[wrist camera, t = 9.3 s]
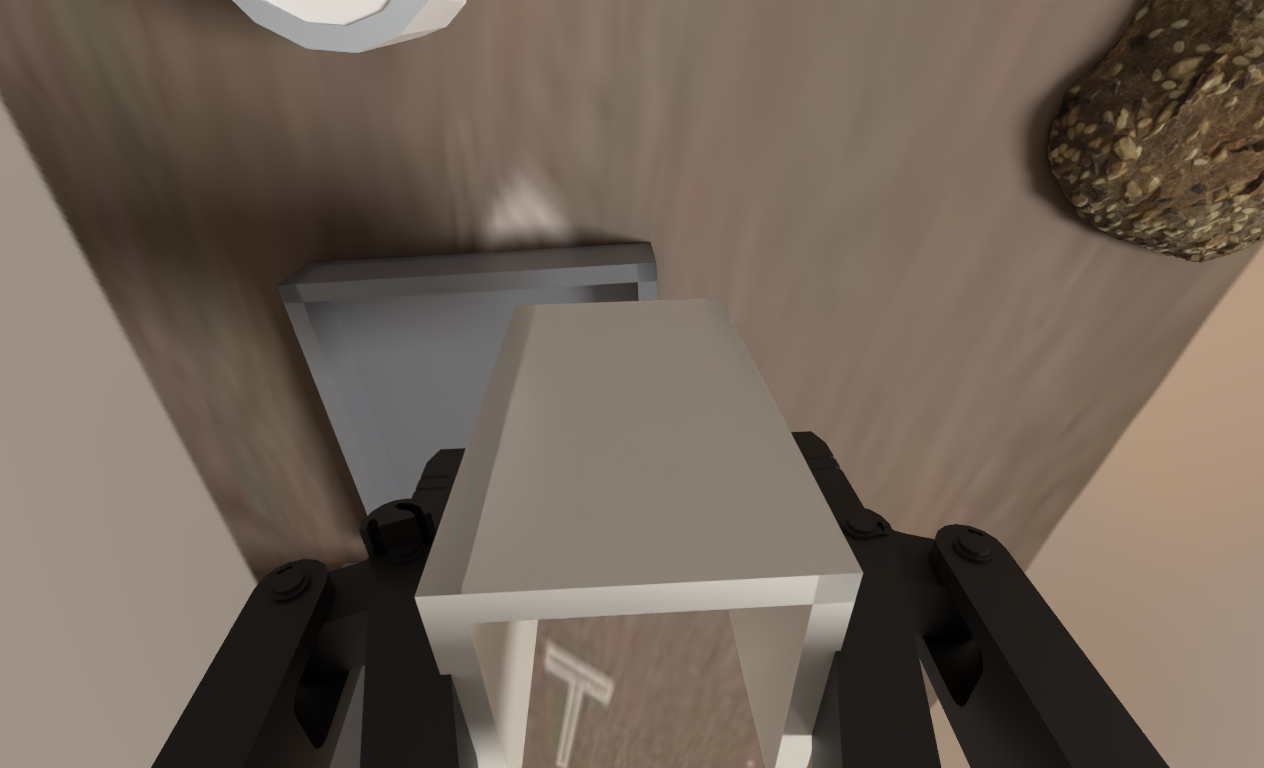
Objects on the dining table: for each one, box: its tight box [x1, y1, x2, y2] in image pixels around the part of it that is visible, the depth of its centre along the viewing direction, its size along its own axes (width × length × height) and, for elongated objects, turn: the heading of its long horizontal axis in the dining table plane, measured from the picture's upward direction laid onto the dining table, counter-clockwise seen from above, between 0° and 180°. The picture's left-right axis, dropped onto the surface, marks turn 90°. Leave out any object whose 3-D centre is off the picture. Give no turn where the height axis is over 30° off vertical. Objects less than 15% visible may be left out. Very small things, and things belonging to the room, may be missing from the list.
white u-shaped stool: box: [415, 298, 863, 768], centre depth 13 cm, size 6×6×10 cm
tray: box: [277, 242, 657, 515], centre depth 28 cm, size 18×16×3 cm
